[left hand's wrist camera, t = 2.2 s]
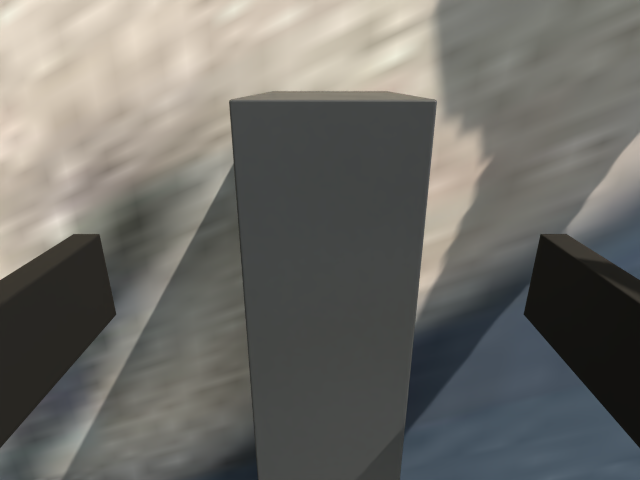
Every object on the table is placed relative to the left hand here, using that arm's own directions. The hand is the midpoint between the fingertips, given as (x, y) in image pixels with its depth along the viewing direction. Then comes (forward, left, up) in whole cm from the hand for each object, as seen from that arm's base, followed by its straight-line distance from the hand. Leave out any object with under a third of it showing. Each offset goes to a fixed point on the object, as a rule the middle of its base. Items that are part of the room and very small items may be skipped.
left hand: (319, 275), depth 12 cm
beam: (+7, +23, -7) cm, 25 cm away
